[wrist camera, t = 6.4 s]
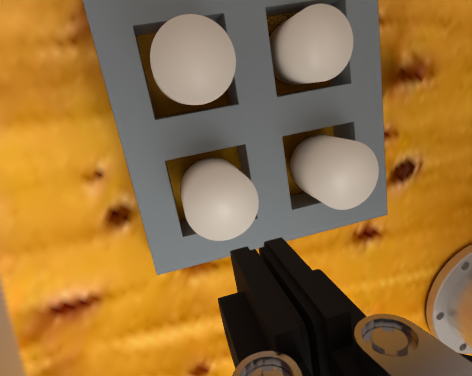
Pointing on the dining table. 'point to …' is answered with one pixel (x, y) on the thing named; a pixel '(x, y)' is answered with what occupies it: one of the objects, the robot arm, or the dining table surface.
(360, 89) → the board
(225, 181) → the button
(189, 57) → the button
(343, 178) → the button
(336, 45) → the button
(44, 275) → the dining table surface
